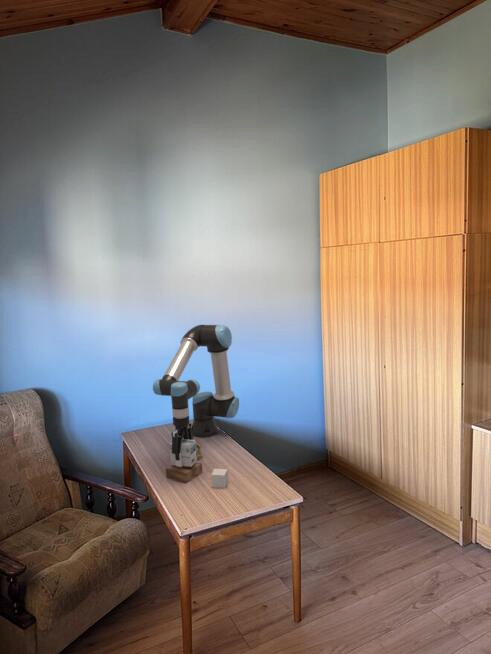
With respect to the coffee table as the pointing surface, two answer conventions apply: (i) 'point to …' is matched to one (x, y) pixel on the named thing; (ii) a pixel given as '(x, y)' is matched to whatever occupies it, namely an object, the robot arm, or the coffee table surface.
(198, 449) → the ceramic model
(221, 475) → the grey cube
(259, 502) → the coffee table surface
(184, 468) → the base block
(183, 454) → the light bulb box
